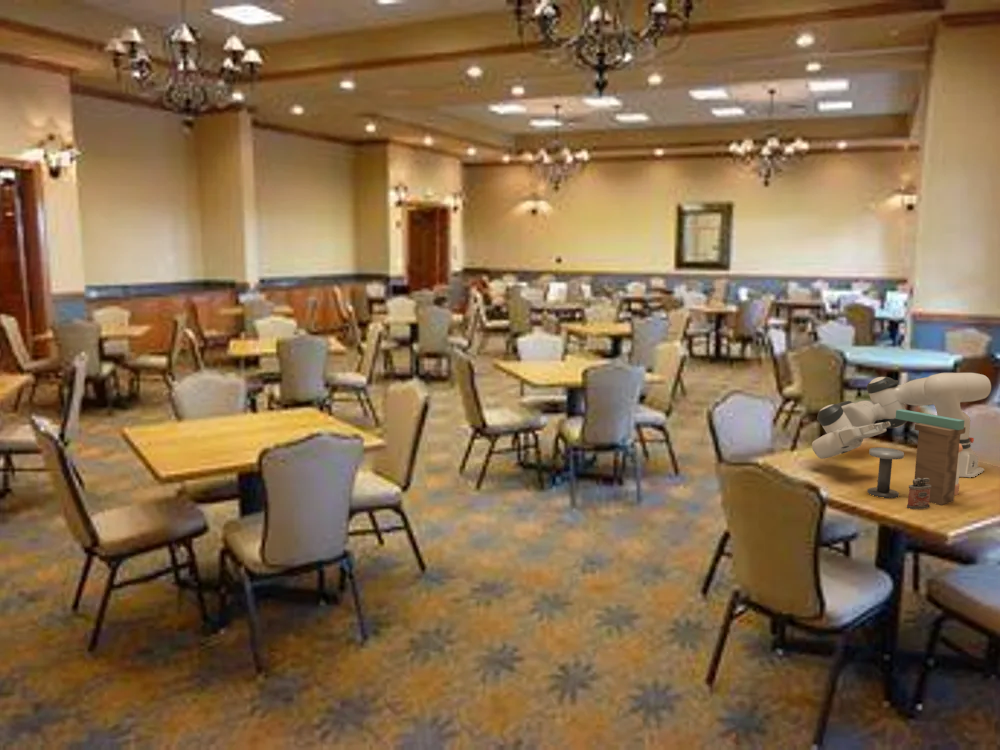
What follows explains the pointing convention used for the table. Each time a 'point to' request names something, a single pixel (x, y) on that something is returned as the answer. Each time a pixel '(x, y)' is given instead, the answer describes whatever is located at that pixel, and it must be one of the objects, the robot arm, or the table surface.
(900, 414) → the rod
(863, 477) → the table surface
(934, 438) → the tall stand
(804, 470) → the table surface
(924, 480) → the lighter
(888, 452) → the cake stand
